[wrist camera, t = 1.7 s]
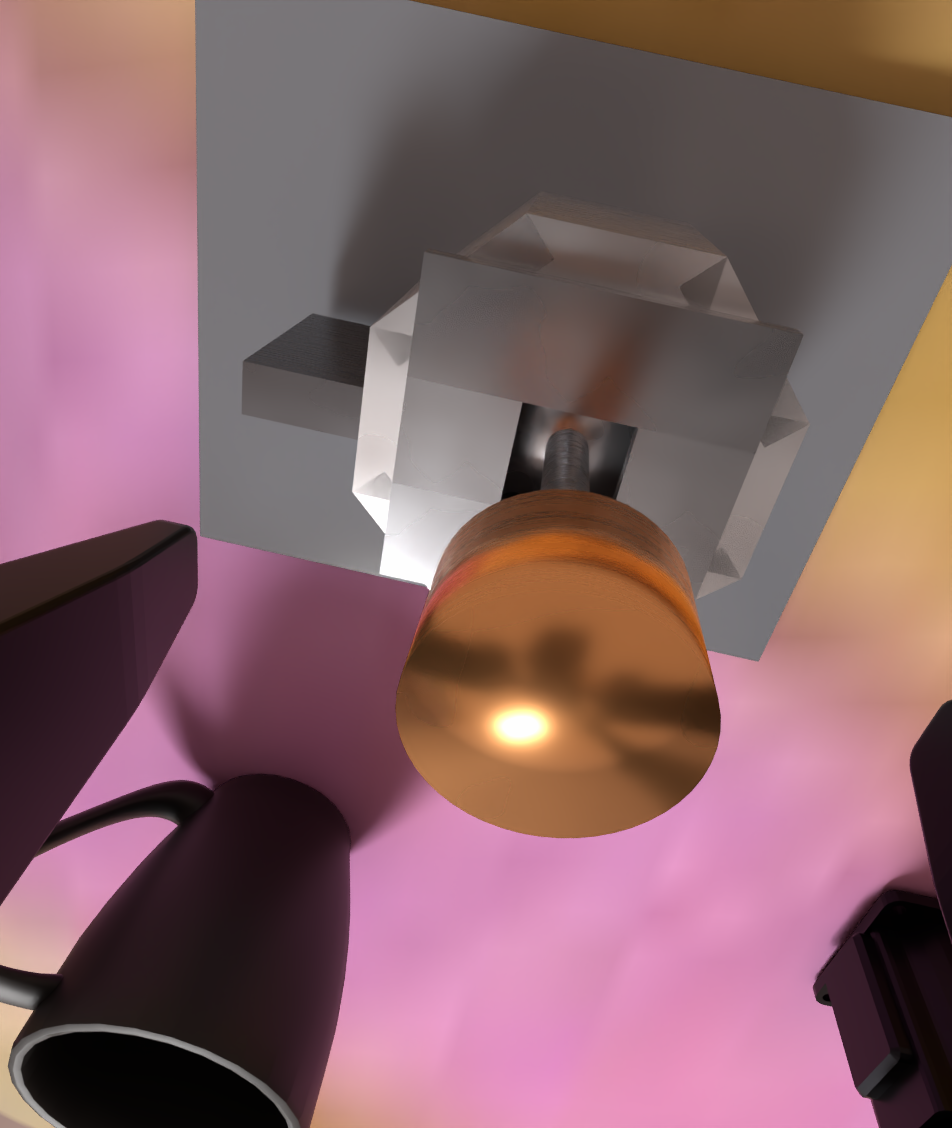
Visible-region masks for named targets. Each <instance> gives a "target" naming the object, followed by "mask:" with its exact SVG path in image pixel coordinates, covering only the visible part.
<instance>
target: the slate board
mask: <svg viewBox="0 0 952 1128" xmlns="http://www.w3.org/2000/svg"><path fill="white" fill-rule="evenodd" d="M195 21H196V130H197V239H198V348H199V458H200V536H202V537H206V538H211V539H215V540H220V541H224V542H229V543H233V544H237V545H242V546H246V547H251V548H255V549H260V550H264V551H269V552H273V553H278V554H282V555H286V556H291V557H295V558H300V559H304V560H309V561H313V562H318V563H322V564H326V565H331V566H335V567H340V568H344V569H349V570H353V571H358V572H362V573H367V574H371V575H375V576H380V577H384V578H389V579H393V580H398V581H402V582H407V583H411V584H415V585H420V586H424V587H427V585H426V584H423V583H418V582H414V581H410V580H405V579H401V578H396V577H392V576H387V575H383V574H380V567H381V559H382V552H383V545H384V538H385V533H384V531H383V530H382V529H381V528H380V526H379V525H378V524H377V522H376V521H375V520H374V519H373V517H372V516H371V515H370V514H369V512H368V511H367V510H366V509H365V507H364V506H363V505H362V504H361V502H360V501H359V500H358V499H357V497H356V496H355V495H354V493H353V492H352V489H353V480H354V471H355V462H356V453H357V443H358V440H356V439H351V438H347V437H342V436H338V435H333V434H329V433H324V432H320V431H315V430H311V429H306V428H302V427H297V426H293V425H288V424H284V423H279V422H275V421H270V420H266V419H261V418H257V417H252V416H248V415H243V414H242V370H243V360H245V359H246V358H248V357H249V356H251V355H252V354H254V353H255V352H257V351H258V350H260V349H261V348H262V347H264V346H265V345H267V344H268V343H270V342H271V341H273V340H274V339H276V338H277V337H279V336H280V335H282V334H283V333H284V332H286V331H287V330H289V329H290V328H292V327H293V326H295V325H296V324H298V323H299V322H301V321H302V320H303V319H305V318H306V317H308V316H309V315H311V314H312V313H314V314H318V315H323V316H327V317H332V318H336V319H341V320H345V321H350V322H354V323H359V324H363V325H368V326H371V325H373V324H374V323H375V322H376V321H377V320H378V319H379V318H380V317H381V316H382V315H383V314H384V313H385V312H386V311H388V310H389V309H390V308H391V307H392V306H393V305H394V304H395V303H396V302H397V301H398V300H399V299H400V298H402V297H403V296H404V295H405V294H406V293H407V292H408V291H409V290H410V289H411V288H412V287H413V286H414V285H415V284H417V283H418V282H419V281H420V278H421V271H422V264H423V257H424V252H425V251H426V250H427V249H434V250H439V251H443V252H448V253H452V254H456V253H458V252H459V251H460V250H462V249H463V248H465V247H466V246H467V245H469V244H470V243H471V242H473V241H474V240H475V239H477V238H478V237H480V236H481V235H482V234H484V233H485V232H486V231H488V230H489V229H490V228H492V227H493V226H495V225H496V224H497V223H499V222H500V221H501V220H503V219H504V218H505V217H507V216H508V215H510V214H511V213H512V212H514V211H515V210H516V209H518V208H519V207H520V206H522V205H523V204H525V203H526V202H527V201H529V200H530V199H531V198H533V197H534V196H535V195H537V194H538V193H540V192H541V191H544V192H548V193H553V194H557V195H562V196H566V197H571V198H576V199H580V200H585V201H589V202H594V203H599V204H603V205H608V206H612V207H617V208H622V209H626V210H631V211H635V212H640V213H644V214H649V215H654V216H658V217H663V218H667V219H672V220H677V221H681V222H686V223H690V224H691V225H692V226H693V227H694V228H695V229H696V230H697V231H699V232H700V233H701V234H702V235H703V236H704V237H705V238H707V239H708V240H709V241H710V242H711V243H712V244H713V245H714V246H716V247H717V248H718V249H719V250H720V251H721V252H722V253H723V254H725V255H726V256H727V258H728V260H729V262H730V264H731V266H732V268H733V270H734V272H735V274H736V276H737V278H738V280H739V282H740V284H741V286H742V288H743V290H744V292H745V294H746V296H747V298H748V300H749V302H750V304H751V306H752V308H753V310H754V312H755V314H756V316H757V318H758V320H759V321H762V322H767V323H771V324H776V325H781V326H785V327H790V328H794V329H798V330H799V331H800V332H801V333H802V334H803V335H804V336H803V338H802V341H801V343H800V346H799V348H798V350H797V353H796V355H795V358H794V360H793V363H792V365H791V368H790V370H789V373H788V375H787V379H788V381H789V383H790V385H791V387H792V389H793V391H794V393H795V395H796V397H797V399H798V401H799V403H800V405H801V407H802V409H803V411H804V413H805V415H806V417H807V419H808V421H809V423H810V425H809V427H808V429H807V432H806V434H805V436H804V439H803V441H802V443H801V445H800V448H799V450H798V452H797V454H796V457H795V459H794V461H793V464H792V466H791V468H790V470H789V473H788V475H787V477H786V479H785V482H784V484H783V486H782V489H781V491H780V493H779V495H778V498H777V500H776V502H775V504H774V507H773V509H772V511H771V514H770V516H769V518H768V520H767V523H766V525H765V527H764V529H763V532H762V534H761V536H760V539H759V541H758V543H757V545H756V548H755V550H754V552H753V554H752V557H751V559H750V561H749V564H748V566H747V568H746V570H745V573H744V575H743V577H742V579H740V580H738V581H736V582H734V583H732V584H729V585H727V586H725V587H723V588H721V589H718V590H716V591H714V592H712V593H710V594H707V595H705V596H703V597H701V598H699V599H696V600H695V604H696V608H697V612H698V616H699V621H700V625H701V629H702V633H703V637H704V642H705V646H706V650H709V651H714V652H718V653H722V654H727V655H731V656H736V657H740V658H745V659H749V660H754V661H759V659H760V657H761V655H762V653H763V651H764V649H765V647H766V645H767V643H768V641H769V639H770V637H771V635H772V633H773V631H774V628H775V626H776V624H777V622H778V620H779V618H780V616H781V614H782V612H783V610H784V608H785V606H786V604H787V602H788V600H789V598H790V596H791V594H792V592H793V589H794V587H795V585H796V583H797V581H798V579H799V577H800V575H801V573H802V571H803V569H804V567H805V565H806V563H807V561H808V559H809V557H810V555H811V553H812V551H813V548H814V546H815V544H816V542H817V540H818V538H819V536H820V534H821V532H822V530H823V528H824V526H825V524H826V522H827V520H828V518H829V516H830V514H831V512H832V509H833V507H834V505H835V503H836V501H837V499H838V497H839V495H840V493H841V491H842V489H843V487H844V485H845V483H846V481H847V479H848V477H849V475H850V473H851V470H852V468H853V466H854V464H855V462H856V460H857V458H858V456H859V454H860V452H861V450H862V448H863V446H864V444H865V442H866V440H867V438H868V436H869V434H870V432H871V429H872V427H873V425H874V423H875V421H876V419H877V417H878V415H879V413H880V411H881V409H882V407H883V405H884V403H885V401H886V399H887V397H888V395H889V393H890V390H891V388H892V386H893V384H894V382H895V380H896V378H897V376H898V374H899V372H900V370H901V368H902V366H903V364H904V362H905V360H906V358H907V356H908V354H909V351H910V349H911V347H912V345H913V343H914V341H915V339H916V337H917V335H918V333H919V331H920V329H921V327H922V325H923V323H924V321H925V319H926V317H927V315H928V313H929V310H930V308H931V306H932V304H933V302H934V300H935V298H936V296H937V294H938V292H939V290H940V288H941V286H942V284H943V282H944V280H945V278H946V276H947V274H948V271H949V269H950V267H951V265H952V117H948V116H944V115H939V114H934V113H930V112H925V111H920V110H916V109H911V108H906V107H902V106H897V105H893V104H888V103H883V102H879V101H874V100H869V99H865V98H860V97H855V96H851V95H846V94H841V93H837V92H832V91H828V90H823V89H818V88H814V87H809V86H804V85H800V84H795V83H790V82H786V81H781V80H776V79H772V78H767V77H763V76H758V75H753V74H749V73H744V72H739V71H735V70H730V69H725V68H721V67H716V66H711V65H707V64H702V63H698V62H693V61H688V60H684V59H679V58H674V57H670V56H665V55H660V54H656V53H651V52H646V51H642V50H637V49H633V48H628V47H623V46H619V45H614V44H609V43H605V42H600V41H595V40H591V39H586V38H581V37H577V36H572V35H568V34H563V33H558V32H554V31H549V30H544V29H540V28H535V27H530V26H526V25H521V24H516V23H512V22H507V21H502V20H498V19H493V18H489V17H484V16H479V15H475V14H470V13H465V12H461V11H456V10H451V9H447V8H442V7H437V6H433V5H428V4H424V3H419V2H414V1H410V0H195Z"/></svg>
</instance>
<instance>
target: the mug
mask: <svg viewBox="0 0 952 1128" xmlns="http://www.w3.org/2000/svg"><path fill="white" fill-rule="evenodd" d="M140 817H160V818H164V819H167V820H170V821H172V822H174V823H175V824H177V825H178V826H177V827H176V828H175V829H174V830H173V831H172V832H171V833H170V834H169V835H168V836H167V837H166V838H165V839H164V840H163V841H162V842H161V843H160V844H159V845H158V846H157V847H156V848H155V849H154V850H153V851H152V852H151V853H150V854H149V855H148V856H147V857H146V858H145V859H144V860H143V861H142V862H141V863H140V865H139V866H138V867H137V868H136V869H135V870H134V872H133V873H132V874H131V875H130V876H129V877H128V878H127V880H126V881H125V882H124V883H123V884H122V885H121V887H120V888H119V889H118V890H117V891H116V892H115V894H114V895H113V896H112V897H111V898H110V899H109V901H108V902H107V903H106V904H105V906H104V907H103V908H102V909H101V911H100V912H99V913H98V915H97V916H96V917H95V918H94V920H93V921H92V922H91V924H90V925H89V926H88V928H87V929H86V930H85V931H84V933H83V934H82V935H81V937H80V938H79V940H78V941H77V943H76V944H75V946H74V947H73V949H72V951H71V952H70V954H69V955H68V957H67V958H66V960H65V962H64V963H63V965H62V966H61V968H60V969H59V971H58V972H57V974H41V973H33V972H28V971H22V970H18V969H13V968H9V967H6V966H2V965H0V1002H2V1003H6V1004H9V1005H13V1006H17V1007H21V1008H25V1009H30V1010H34V1011H33V1013H32V1014H31V1016H30V1017H29V1019H28V1021H27V1022H26V1024H25V1025H24V1027H23V1029H22V1030H21V1032H20V1033H19V1035H18V1037H17V1038H16V1040H15V1041H14V1043H13V1046H12V1050H11V1054H10V1058H9V1063H8V1068H9V1072H10V1076H11V1080H12V1083H13V1084H14V1086H15V1088H16V1089H17V1091H18V1092H19V1094H20V1095H21V1097H22V1098H23V1100H24V1101H25V1102H26V1103H27V1104H28V1105H29V1106H30V1107H31V1108H32V1109H33V1110H34V1111H35V1112H36V1113H37V1114H38V1115H39V1116H41V1117H42V1118H43V1119H45V1120H46V1121H47V1122H49V1123H50V1124H51V1125H53V1126H54V1127H56V1128H310V1124H311V1120H312V1117H313V1113H314V1110H315V1106H316V1102H317V1099H318V1095H319V1091H320V1088H321V1084H322V1080H323V1077H324V1073H325V1069H326V1066H327V1062H328V1058H329V1054H330V1050H331V1046H332V1042H333V1039H334V1035H335V1031H336V1026H337V1021H338V1016H339V1010H340V1004H341V998H342V992H343V986H344V980H345V971H346V962H347V953H348V943H349V924H350V845H351V839H350V833H349V828H348V826H347V823H346V821H345V819H344V817H343V816H342V814H341V813H340V812H339V810H338V809H337V808H336V806H335V805H334V804H333V803H331V802H330V801H329V800H328V799H327V798H326V797H325V796H323V795H322V794H320V793H319V792H317V791H316V790H314V789H312V788H311V787H309V786H307V785H304V784H302V783H300V782H297V781H295V780H292V779H288V778H284V777H280V776H276V775H264V774H255V775H245V776H241V777H238V778H234V779H232V780H229V781H227V782H226V783H224V784H222V785H221V786H219V787H218V788H217V789H216V790H215V791H214V792H213V791H212V790H210V789H209V788H207V787H206V786H204V785H202V784H199V783H197V782H193V781H187V780H176V781H168V782H163V783H159V784H156V785H152V786H149V787H146V788H143V789H140V790H137V791H134V792H132V793H129V794H126V795H124V796H121V797H119V798H116V799H113V800H111V801H108V802H106V803H103V804H101V805H98V806H96V807H93V808H91V809H88V810H86V811H83V812H81V813H79V814H76V815H74V816H71V817H69V818H66V819H64V820H61V821H59V822H58V824H57V825H56V826H55V828H54V829H53V831H52V832H51V834H50V835H49V836H48V838H47V839H46V841H45V842H44V844H43V845H42V847H41V848H40V849H39V851H38V852H37V854H36V855H35V857H36V856H38V855H40V854H42V853H44V852H47V851H49V850H51V849H53V848H55V847H57V846H59V845H62V844H64V843H66V842H68V841H71V840H73V839H75V838H78V837H80V836H82V835H85V834H87V833H90V832H92V831H95V830H97V829H100V828H103V827H106V826H108V825H111V824H114V823H118V822H121V821H125V820H129V819H134V818H140Z"/></svg>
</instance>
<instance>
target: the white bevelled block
mask: <svg viewBox="0 0 952 1128" xmlns="http://www.w3.org/2000/svg"><path fill="white" fill-rule="evenodd" d="M803 336H804V335H803V334H802V333H801V332H800V331H799V330H798V329H794V328H790V327H785V326H781V325H776V324H771V323H767V322H762V321H759V320H758V318H757V316H756V314H755V312H754V310H753V308H752V306H751V304H750V302H749V300H748V298H747V296H746V294H745V292H744V290H743V288H742V286H741V284H740V282H739V280H738V278H737V276H736V274H735V272H734V270H733V268H732V266H731V264H730V262H729V260H728V258H727V256H726V255H725V254H723V253H722V252H721V251H720V250H719V249H718V248H717V247H716V246H714V245H713V244H712V243H711V242H710V241H709V240H708V239H707V238H705V237H704V236H703V235H702V234H701V233H700V232H699V231H697V230H696V229H695V228H694V227H693V226H692V225H691V224H690V223H686V222H681V221H677V220H672V219H667V218H663V217H658V216H654V215H649V214H644V213H640V212H635V211H631V210H626V209H622V208H617V207H612V206H608V205H603V204H599V203H594V202H589V201H585V200H580V199H576V198H571V197H566V196H562V195H557V194H553V193H548V192H544V191H541V192H540V193H538V194H537V195H535V196H534V197H533V198H531V199H530V200H529V201H527V202H526V203H525V204H523V205H522V206H520V207H519V208H518V209H516V210H515V211H514V212H512V213H511V214H510V215H508V216H507V217H505V218H504V219H503V220H501V221H500V222H499V223H497V224H496V225H495V226H493V227H492V228H490V229H489V230H488V231H486V232H485V233H484V234H482V235H481V236H480V237H478V238H477V239H475V240H474V241H473V242H471V243H470V244H469V245H467V246H466V247H465V248H463V249H462V250H460V251H459V252H458V253H456V254H452V253H448V252H443V251H439V250H434V249H427V250H426V251H425V252H424V257H423V264H422V271H421V278H420V281H419V282H418V283H417V284H415V285H414V286H413V287H412V288H411V289H410V290H409V291H408V292H407V293H406V294H405V295H404V296H403V297H402V298H400V299H399V300H398V301H397V302H396V303H395V304H394V305H393V306H392V307H391V308H390V309H389V310H388V311H386V312H385V313H384V314H383V315H382V316H381V317H380V318H379V319H378V320H377V321H376V322H375V323H374V324H373V325H371V326H368V325H363V324H359V323H354V322H350V321H345V320H341V319H336V318H332V317H327V316H323V315H318V314H314V313H312V314H311V315H309V316H308V317H306V318H305V319H303V320H302V321H301V322H299V323H298V324H296V325H295V326H293V327H292V328H290V329H289V330H287V331H286V332H284V333H283V334H282V335H280V336H279V337H277V338H276V339H274V340H273V341H271V342H270V343H268V344H267V345H265V346H264V347H262V348H261V349H260V350H258V351H257V352H255V353H254V354H252V355H251V356H249V357H248V358H246V359H245V360H243V370H242V414H243V415H248V416H252V417H257V418H261V419H266V420H270V421H275V422H279V423H284V424H288V425H293V426H297V427H302V428H306V429H311V430H315V431H320V432H324V433H329V434H333V435H338V436H342V437H347V438H351V439H356V440H358V443H357V453H356V462H355V471H354V480H353V489H352V492H353V493H354V495H355V496H356V497H357V499H358V500H359V501H360V502H361V504H362V505H363V506H364V507H365V509H366V510H367V511H368V512H369V514H370V515H371V516H372V517H373V519H374V520H375V521H376V522H377V524H378V525H379V526H380V528H381V529H382V530H383V531H384V533H385V538H384V545H383V552H382V559H381V567H380V574H383V575H387V576H392V577H396V578H401V579H405V580H410V581H414V582H418V583H423V584H426V585H427V587H428V588H429V589H430V587H431V584H432V581H433V578H434V575H435V572H436V569H437V566H438V563H439V561H440V559H441V557H442V554H443V552H444V550H445V549H446V547H447V545H448V544H449V542H450V541H451V539H452V538H453V537H454V536H455V534H456V533H457V532H458V531H459V530H460V529H461V527H462V526H464V525H465V524H466V523H467V522H468V521H469V520H470V519H472V518H473V517H474V516H475V515H477V514H478V513H480V512H481V511H483V510H484V509H486V508H487V507H489V506H491V505H493V504H496V503H498V502H500V501H502V500H504V499H507V498H502V497H501V496H502V491H503V487H504V482H505V478H506V474H507V469H508V465H509V460H510V456H511V451H512V447H513V442H514V438H515V434H516V429H517V425H518V420H519V416H520V411H521V407H522V403H523V402H524V403H528V404H533V405H537V406H542V407H546V408H551V409H555V410H560V411H564V412H569V413H573V414H578V415H582V416H587V417H591V418H596V419H600V420H605V421H609V422H614V423H618V424H623V425H627V426H632V427H635V429H634V432H633V435H632V438H631V441H630V445H629V448H628V451H627V454H626V458H625V461H624V464H623V467H622V470H621V474H620V477H619V480H618V483H617V486H616V490H615V493H614V496H613V499H615V500H617V501H620V502H622V503H624V504H627V505H629V506H630V507H632V508H634V509H635V510H637V511H639V512H641V513H642V514H644V515H645V516H646V517H647V518H649V519H650V520H651V521H653V522H654V523H655V524H656V525H657V526H658V527H659V528H660V529H661V530H662V531H663V532H664V533H665V534H666V535H667V536H668V537H669V539H670V540H671V541H672V543H673V544H674V545H675V547H676V548H677V550H678V552H679V554H680V556H681V557H682V559H683V561H684V563H685V566H686V569H687V572H688V575H689V579H690V583H691V587H692V591H693V595H694V600H696V599H699V598H701V597H703V596H705V595H707V594H710V593H712V592H714V591H716V590H718V589H721V588H723V587H725V586H727V585H729V584H732V583H734V582H736V581H738V580H740V579H742V577H743V575H744V573H745V570H746V568H747V566H748V564H749V561H750V559H751V557H752V554H753V552H754V550H755V548H756V545H757V543H758V541H759V539H760V536H761V534H762V532H763V529H764V527H765V525H766V523H767V520H768V518H769V516H770V514H771V511H772V509H773V507H774V504H775V502H776V500H777V498H778V495H779V493H780V491H781V489H782V486H783V484H784V482H785V479H786V477H787V475H788V473H789V470H790V468H791V466H792V464H793V461H794V459H795V457H796V454H797V452H798V450H799V448H800V445H801V443H802V441H803V439H804V436H805V434H806V432H807V429H808V427H809V425H810V423H809V421H808V419H807V417H806V415H805V413H804V411H803V409H802V407H801V405H800V403H799V401H798V399H797V397H796V395H795V393H794V391H793V389H792V387H791V385H790V383H789V381H788V379H787V375H788V373H789V370H790V368H791V365H792V363H793V360H794V358H795V355H796V353H797V350H798V348H799V346H800V343H801V341H802V338H803Z"/></svg>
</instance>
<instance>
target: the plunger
mask: <svg viewBox="0 0 952 1128" xmlns="http://www.w3.org/2000/svg"><path fill="white" fill-rule="evenodd" d="M634 429H635V427H632V426H627V425H623V424H618V423H614V422H609V421H605V420H600V419H596V418H591V417H587V416H582V415H578V414H573V413H569V412H564V411H560V410H555V409H551V408H546V407H542V406H537V405H533V404H528V403H524V402H523V403H522V407H521V411H520V416H519V420H518V425H517V429H516V434H515V438H514V442H513V447H512V451H511V456H510V460H509V465H508V469H507V474H506V478H505V482H504V487H503V491H502V496H501V497H502V498H507V499H504V500H502V501H500V502H498V503H496V504H493V505H491V506H489V507H487V508H486V509H484V510H483V511H481V512H480V513H478V514H477V515H475V516H474V517H473V518H472V519H470V520H469V521H468V522H467V523H466V524H465V525H464V526H462V527H461V529H460V530H459V531H458V532H457V533H456V534H455V536H454V537H453V538H452V539H451V541H450V542H449V544H448V545H447V547H446V549H445V550H444V552H443V554H442V557H441V559H440V561H439V563H438V566H437V569H436V572H435V575H434V578H433V581H432V584H431V587H430V590H429V593H428V596H427V599H426V602H425V605H424V608H423V611H422V614H421V617H420V620H419V623H418V626H417V629H416V632H415V635H414V638H413V641H412V644H411V647H410V650H409V653H408V656H407V659H406V662H405V665H404V668H403V671H402V674H401V678H400V682H399V685H398V689H397V695H396V707H395V709H396V720H397V726H398V730H399V734H400V738H401V741H402V743H403V746H404V748H405V750H406V753H407V755H408V756H409V758H410V760H411V761H412V763H413V765H414V766H415V768H416V769H417V770H418V772H419V773H420V774H421V775H422V777H423V778H424V779H425V780H426V781H427V782H428V783H429V784H430V785H431V786H432V787H433V788H434V789H435V790H436V791H437V792H438V793H439V794H440V795H442V796H443V797H444V798H445V799H447V800H448V801H449V802H451V803H452V804H453V805H455V806H457V807H458V808H460V809H461V810H463V811H465V812H466V813H468V814H470V815H472V816H474V817H476V818H478V819H480V820H482V821H485V822H487V823H490V824H493V825H495V826H498V827H500V828H504V829H507V830H511V831H515V832H518V833H523V834H529V835H534V836H541V837H552V838H582V837H594V836H600V835H605V834H611V833H616V832H619V831H622V830H626V829H629V828H633V827H635V826H638V825H640V824H643V823H645V822H648V821H650V820H652V819H654V818H655V817H657V816H659V815H661V814H663V813H665V812H666V811H668V810H669V809H670V808H672V807H673V806H675V805H676V804H678V803H679V802H680V801H681V800H682V799H683V798H684V797H686V796H687V795H688V794H689V793H690V792H691V791H692V790H693V789H694V788H695V786H696V785H697V784H698V783H699V781H700V780H701V779H702V778H703V776H704V775H705V773H706V771H707V769H708V768H709V766H710V764H711V762H712V760H713V757H714V755H715V752H716V750H717V746H718V741H719V736H720V724H721V714H720V708H719V702H718V696H717V692H716V688H715V684H714V679H713V675H712V671H711V667H710V663H709V658H708V654H707V650H706V646H705V642H704V637H703V633H702V629H701V625H700V621H699V616H698V612H697V608H696V604H695V600H694V595H693V591H692V587H691V583H690V579H689V575H688V572H687V569H686V566H685V563H684V561H683V559H682V557H681V556H680V554H679V552H678V550H677V548H676V547H675V545H674V544H673V543H672V541H671V540H670V539H669V537H668V536H667V535H666V534H665V533H664V532H663V531H662V530H661V529H660V528H659V527H658V526H657V525H656V524H655V523H654V522H653V521H651V520H650V519H649V518H647V517H646V516H645V515H644V514H642V513H641V512H639V511H637V510H635V509H634V508H632V507H630V506H629V505H627V504H624V503H622V502H620V501H617V500H615V499H613V496H614V493H615V490H616V486H617V483H618V480H619V477H620V474H621V470H622V467H623V464H624V461H625V458H626V454H627V451H628V448H629V445H630V441H631V438H632V435H633V432H634Z"/></svg>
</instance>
